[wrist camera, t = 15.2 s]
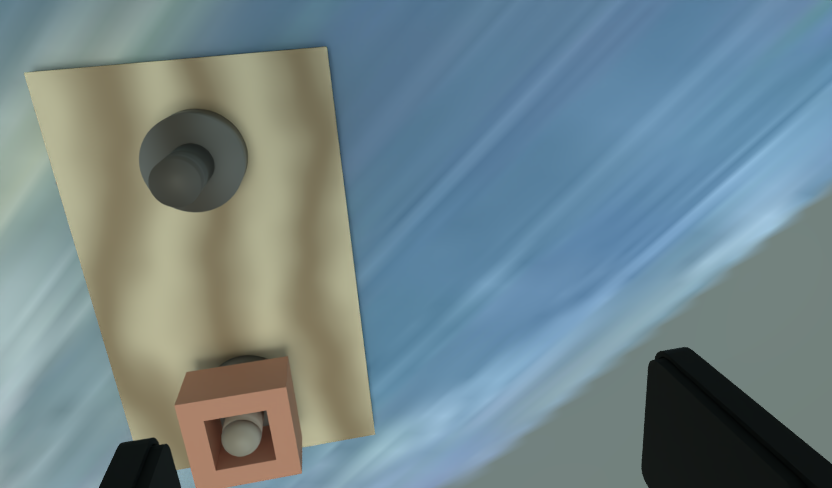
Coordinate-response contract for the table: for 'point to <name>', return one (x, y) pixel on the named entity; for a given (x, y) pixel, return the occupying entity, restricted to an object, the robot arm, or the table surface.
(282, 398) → the collar
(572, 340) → the table surface
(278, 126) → the board
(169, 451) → the robot arm
